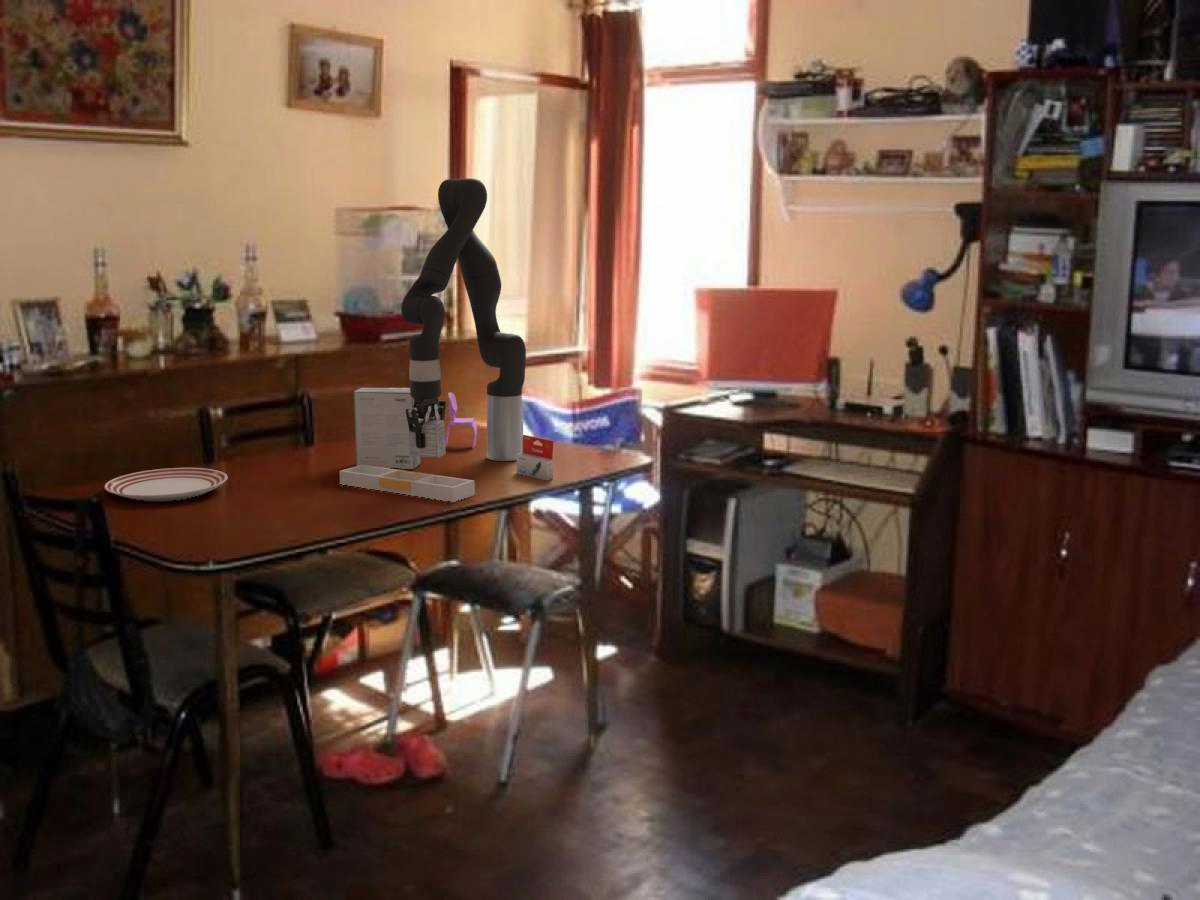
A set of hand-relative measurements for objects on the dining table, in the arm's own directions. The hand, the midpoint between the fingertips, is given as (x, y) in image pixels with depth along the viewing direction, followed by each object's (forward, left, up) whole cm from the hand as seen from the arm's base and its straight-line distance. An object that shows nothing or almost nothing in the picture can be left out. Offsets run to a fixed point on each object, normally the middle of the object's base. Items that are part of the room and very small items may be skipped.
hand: (427, 445), depth 329 cm
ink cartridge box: (-17, +21, -9) cm, 28 cm away
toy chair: (-38, -16, -9) cm, 42 cm away
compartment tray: (+12, +3, -8) cm, 15 cm away
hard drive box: (-7, -17, -9) cm, 20 cm away
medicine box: (0, 0, -3) cm, 3 cm away
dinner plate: (+43, -43, -9) cm, 62 cm away
